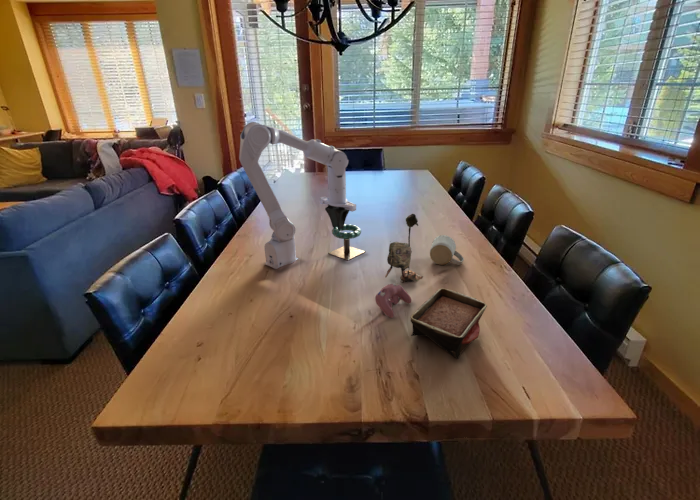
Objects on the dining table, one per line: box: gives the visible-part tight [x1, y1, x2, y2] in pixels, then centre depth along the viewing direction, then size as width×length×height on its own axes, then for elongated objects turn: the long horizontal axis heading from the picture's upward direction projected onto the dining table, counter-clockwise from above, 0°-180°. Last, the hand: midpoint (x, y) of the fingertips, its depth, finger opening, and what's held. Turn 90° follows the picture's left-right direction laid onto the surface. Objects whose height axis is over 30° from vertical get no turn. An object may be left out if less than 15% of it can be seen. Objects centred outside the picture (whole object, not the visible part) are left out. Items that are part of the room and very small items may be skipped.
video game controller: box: [374, 282, 413, 319], centre depth 96 cm, size 10×5×7 cm, turn 141°
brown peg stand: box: [328, 239, 366, 261], centre depth 126 cm, size 9×9×6 cm
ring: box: [331, 223, 362, 240], centre depth 124 cm, size 10×10×2 cm
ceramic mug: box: [429, 234, 465, 266], centre depth 120 cm, size 11×8×8 cm
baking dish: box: [410, 287, 488, 360], centre depth 84 cm, size 14×18×10 cm
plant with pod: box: [385, 212, 424, 284], centre depth 106 cm, size 8×11×20 cm
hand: (338, 227), depth 126 cm, fingers closed on ring, 2 cm apart
